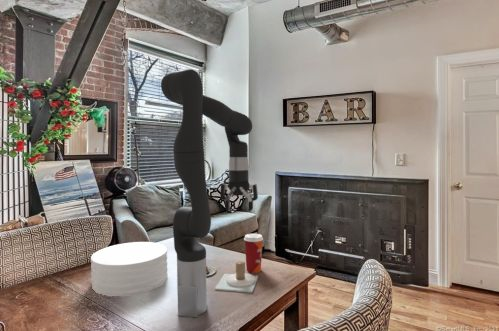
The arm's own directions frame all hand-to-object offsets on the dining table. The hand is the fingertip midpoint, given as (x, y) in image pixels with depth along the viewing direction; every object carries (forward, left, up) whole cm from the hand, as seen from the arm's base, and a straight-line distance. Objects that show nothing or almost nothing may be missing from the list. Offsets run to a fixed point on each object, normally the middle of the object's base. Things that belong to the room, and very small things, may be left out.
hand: (239, 210), depth 123 cm
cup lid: (-1, 0, -27) cm, 27 cm away
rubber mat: (-2, 0, -28) cm, 28 cm away
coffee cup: (+12, -3, -28) cm, 31 cm away
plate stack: (-6, +43, -28) cm, 52 cm away
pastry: (+6, +18, -28) cm, 34 cm away
